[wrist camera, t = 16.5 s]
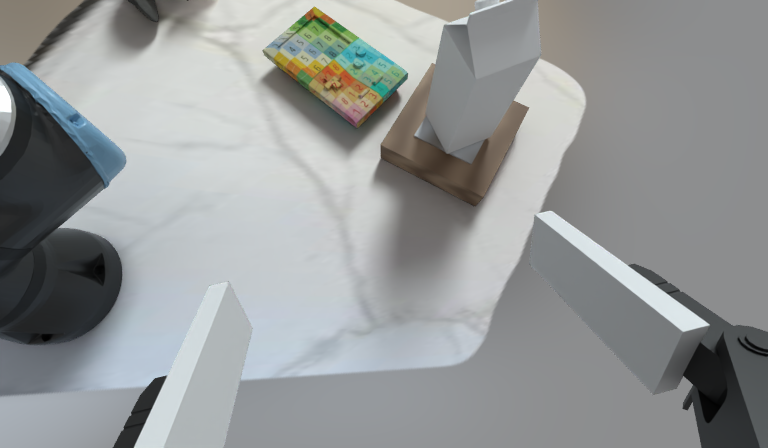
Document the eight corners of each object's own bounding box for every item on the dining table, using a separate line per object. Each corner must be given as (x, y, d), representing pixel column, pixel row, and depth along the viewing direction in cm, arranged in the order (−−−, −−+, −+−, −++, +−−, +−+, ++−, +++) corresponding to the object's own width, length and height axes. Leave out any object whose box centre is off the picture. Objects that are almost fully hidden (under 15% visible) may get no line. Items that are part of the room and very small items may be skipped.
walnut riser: (380, 157, 49) (380, 143, 45) (428, 81, 53) (432, 61, 49) (475, 206, 47) (484, 196, 43) (518, 123, 51) (530, 106, 47)
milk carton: (491, 137, 45) (564, 18, 27) (446, 155, 45) (489, 45, 26) (468, 97, 47) (522, -39, 29) (424, 114, 46) (451, -16, 28)
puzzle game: (356, 120, 46) (260, 45, 49) (358, 137, 51) (270, 68, 54) (408, 68, 48) (313, 1, 52) (406, 89, 53) (318, 26, 56)
